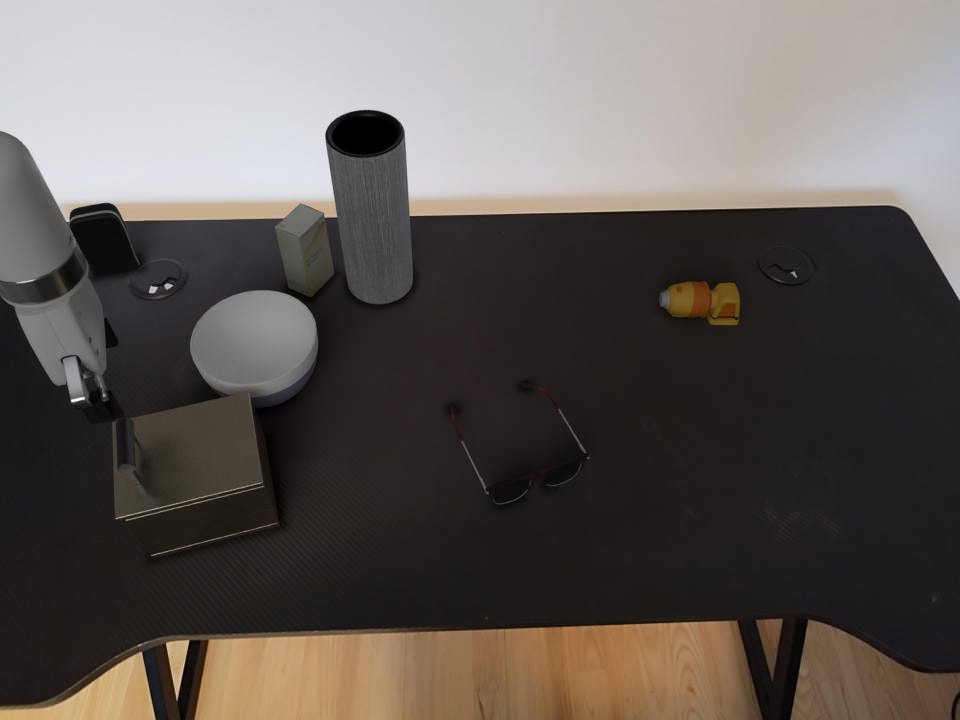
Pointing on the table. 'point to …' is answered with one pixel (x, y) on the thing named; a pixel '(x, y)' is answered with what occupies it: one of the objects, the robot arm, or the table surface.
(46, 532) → the table surface
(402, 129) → the vase
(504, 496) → the sunglasses
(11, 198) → the robot arm
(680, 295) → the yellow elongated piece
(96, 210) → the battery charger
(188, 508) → the brown hollow box
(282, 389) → the white round container
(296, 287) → the cosmetic box
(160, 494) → the lid
